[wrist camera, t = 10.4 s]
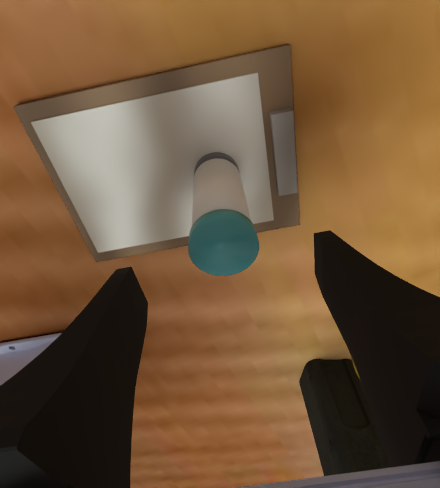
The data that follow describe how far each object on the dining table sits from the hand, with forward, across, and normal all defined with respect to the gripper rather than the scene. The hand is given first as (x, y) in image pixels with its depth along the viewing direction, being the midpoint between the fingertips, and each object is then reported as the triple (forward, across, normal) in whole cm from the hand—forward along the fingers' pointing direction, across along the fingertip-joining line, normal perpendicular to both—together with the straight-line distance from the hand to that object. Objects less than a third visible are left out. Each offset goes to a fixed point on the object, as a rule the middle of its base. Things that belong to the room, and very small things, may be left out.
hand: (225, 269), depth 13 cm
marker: (+9, 0, 0) cm, 9 cm away
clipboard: (+10, +2, -1) cm, 10 cm away
